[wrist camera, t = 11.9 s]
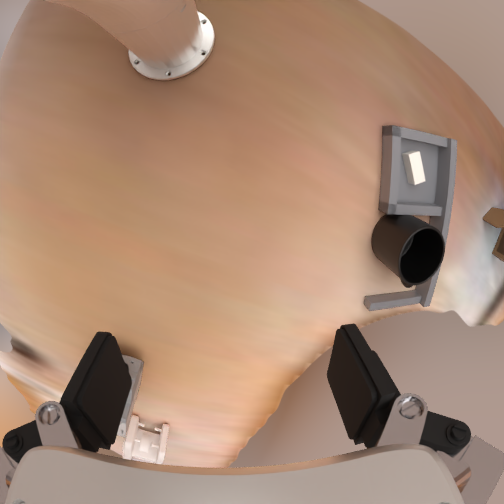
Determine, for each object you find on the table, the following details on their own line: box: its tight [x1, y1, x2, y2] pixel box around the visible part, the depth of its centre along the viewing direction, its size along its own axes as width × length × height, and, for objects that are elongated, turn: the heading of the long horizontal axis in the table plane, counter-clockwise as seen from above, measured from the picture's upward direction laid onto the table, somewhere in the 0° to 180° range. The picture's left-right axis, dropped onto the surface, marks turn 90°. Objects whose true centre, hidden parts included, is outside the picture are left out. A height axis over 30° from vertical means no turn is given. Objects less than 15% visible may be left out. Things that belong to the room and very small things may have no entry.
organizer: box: [364, 125, 457, 311], centre depth 40 cm, size 31×14×4 cm, turn 1°
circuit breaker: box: [117, 353, 144, 438], centre depth 41 cm, size 8×14×15 cm, turn 159°
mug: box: [372, 214, 445, 288], centre depth 39 cm, size 9×12×9 cm
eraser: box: [402, 150, 425, 185], centre depth 36 cm, size 5×2×2 cm, turn 21°
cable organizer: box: [122, 415, 169, 464], centre depth 53 cm, size 15×11×12 cm
